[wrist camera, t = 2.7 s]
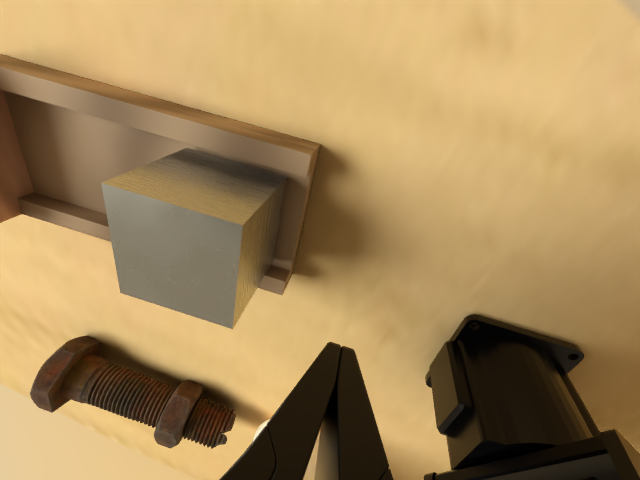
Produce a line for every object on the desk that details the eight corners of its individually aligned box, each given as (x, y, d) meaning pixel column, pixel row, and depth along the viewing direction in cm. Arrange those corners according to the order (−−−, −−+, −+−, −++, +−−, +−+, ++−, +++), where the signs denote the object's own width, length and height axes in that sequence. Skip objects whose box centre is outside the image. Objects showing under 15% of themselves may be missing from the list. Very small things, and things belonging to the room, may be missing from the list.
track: (320, 144, 14) (290, 177, 10) (292, 274, 19) (262, 336, 14) (-3, 53, 15) (-154, 49, 11) (40, 196, 20) (-58, 233, 15)
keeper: (287, 176, 14) (242, 225, 10) (272, 261, 17) (232, 329, 12) (186, 147, 14) (100, 182, 10) (187, 235, 17) (120, 292, 13)
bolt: (245, 393, 30) (96, 337, 29) (245, 394, 25) (68, 328, 25) (217, 464, 27) (51, 404, 26) (211, 480, 22) (11, 407, 22)
